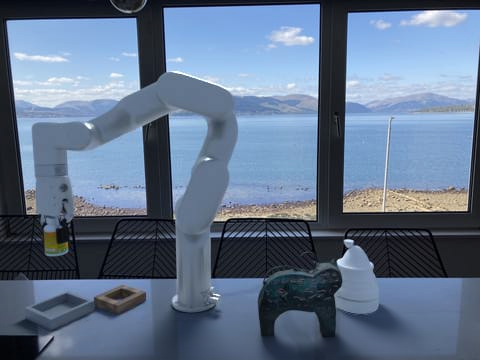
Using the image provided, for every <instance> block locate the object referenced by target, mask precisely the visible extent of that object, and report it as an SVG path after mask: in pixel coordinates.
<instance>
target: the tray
mask: <svg viewBox="0 0 480 360" xmlns="http://www.w3.org/2000/svg"><path fill="white" fill-rule="evenodd" d="M95 311H96V306H95V304H94V299H91V298H88V297H85V296H82V295H80V294H78V293H74V292H72V291H69V290H66V291H64V292H61V293H59V294H56V295H54V296H51V297H49V298H47V299H44V300H40V301H38V302H36V303H33V304H31V305H28V306H25V307H24V315H25V317H24V318H25V319H26V320H27V321H29V322H32V323H34V324H36V325H38V326H39V327H42V328H43V329H46V330H48V331H51V332H53V331H56V330H58V329H60V328H61V327H64V326H66V325H70V324H71V323H73V322H75V321H78V320H79V319H81V318H83V317H85V316H88V315H89V314H92V313H94V312H95Z"/></svg>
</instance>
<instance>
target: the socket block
mask: <svg viewBox="0 0 480 360" xmlns="http://www.w3.org/2000/svg"><path fill="white" fill-rule="evenodd" d="M121 297H124V298H123V299H121V300H119V301H118V300H117V299H119V298H121ZM93 300H94V304H95V307H97V308H100V309H102V310H105V311H107V312H110V313H113V314H116V315H120V314H122V313H124V312H126V311H128V310H130V309H132V308H133V307H136V306H138V305H140V304H142V303H144V302H145V301H147V292H146V291H144V290H142V289H138V288H135V287H132V286H128V285H125V284H120V285H118V286H116V287H114V288H112V289H110V290H107V291H105V292H102V293H100V294H98V295H95V296H94V297H93Z"/></svg>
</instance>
